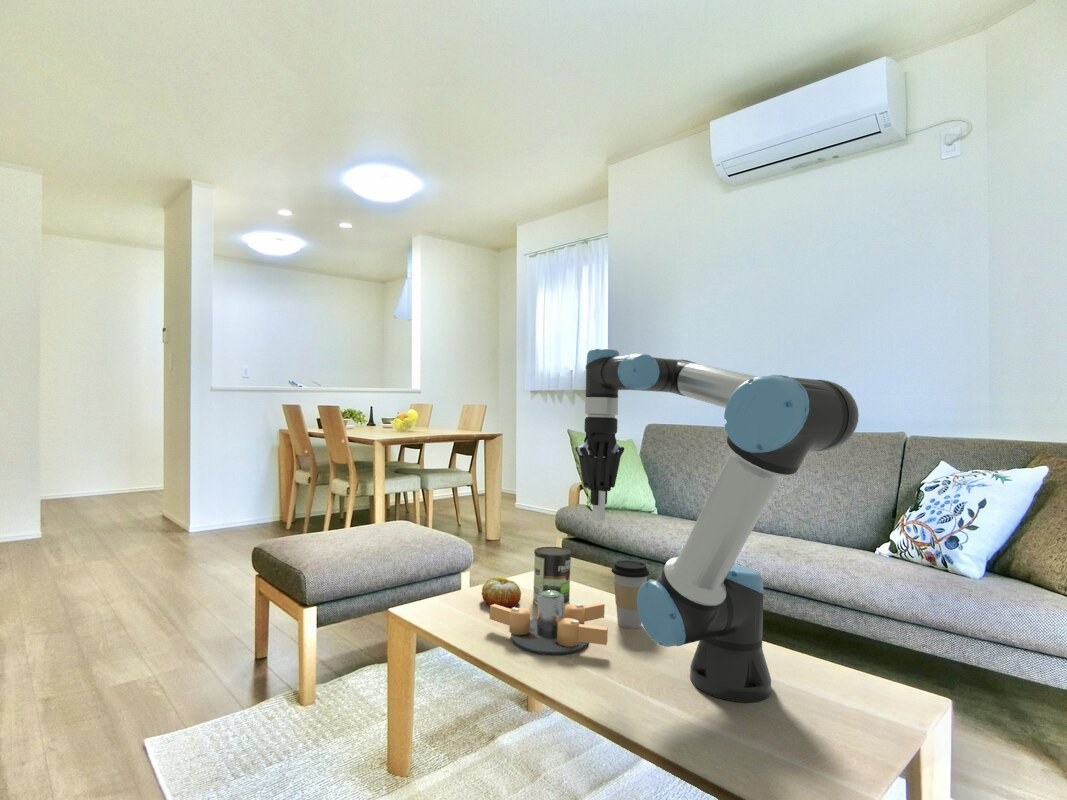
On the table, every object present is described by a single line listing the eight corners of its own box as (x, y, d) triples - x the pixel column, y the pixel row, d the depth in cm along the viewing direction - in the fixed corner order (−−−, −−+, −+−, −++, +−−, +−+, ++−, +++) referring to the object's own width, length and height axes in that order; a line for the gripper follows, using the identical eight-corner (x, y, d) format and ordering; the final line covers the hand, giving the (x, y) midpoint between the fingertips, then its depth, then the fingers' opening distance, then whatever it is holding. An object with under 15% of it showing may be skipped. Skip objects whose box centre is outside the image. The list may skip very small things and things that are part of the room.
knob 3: (554, 644, 123) (555, 622, 123) (559, 636, 128) (560, 615, 128) (605, 651, 120) (605, 629, 120) (608, 643, 125) (608, 621, 125)
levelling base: (599, 634, 135) (601, 587, 135) (569, 662, 119) (571, 609, 119) (532, 619, 143) (534, 575, 143) (496, 644, 127) (497, 594, 127)
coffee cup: (656, 626, 140) (657, 566, 141) (628, 634, 135) (630, 571, 136) (629, 615, 148) (630, 557, 149) (602, 621, 143) (603, 562, 143)
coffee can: (576, 600, 159) (577, 550, 159) (557, 610, 150) (559, 557, 150) (545, 593, 164) (546, 544, 165) (525, 602, 156) (527, 551, 156)
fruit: (471, 603, 152) (477, 573, 155) (494, 605, 161) (499, 576, 163) (504, 611, 146) (510, 579, 148) (526, 613, 154) (531, 582, 157)
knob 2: (572, 631, 131) (572, 610, 131) (560, 624, 135) (560, 604, 136) (608, 622, 137) (608, 602, 137) (595, 616, 141) (596, 597, 141)
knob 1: (534, 630, 131) (534, 609, 131) (521, 636, 127) (521, 615, 127) (498, 618, 138) (498, 599, 138) (485, 624, 134) (485, 603, 134)
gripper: (612, 416, 137) (609, 514, 136) (568, 415, 130) (565, 518, 129) (633, 417, 130) (630, 519, 130) (589, 416, 123) (585, 524, 123)
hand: (598, 519), depth 130 cm, fingers closed
